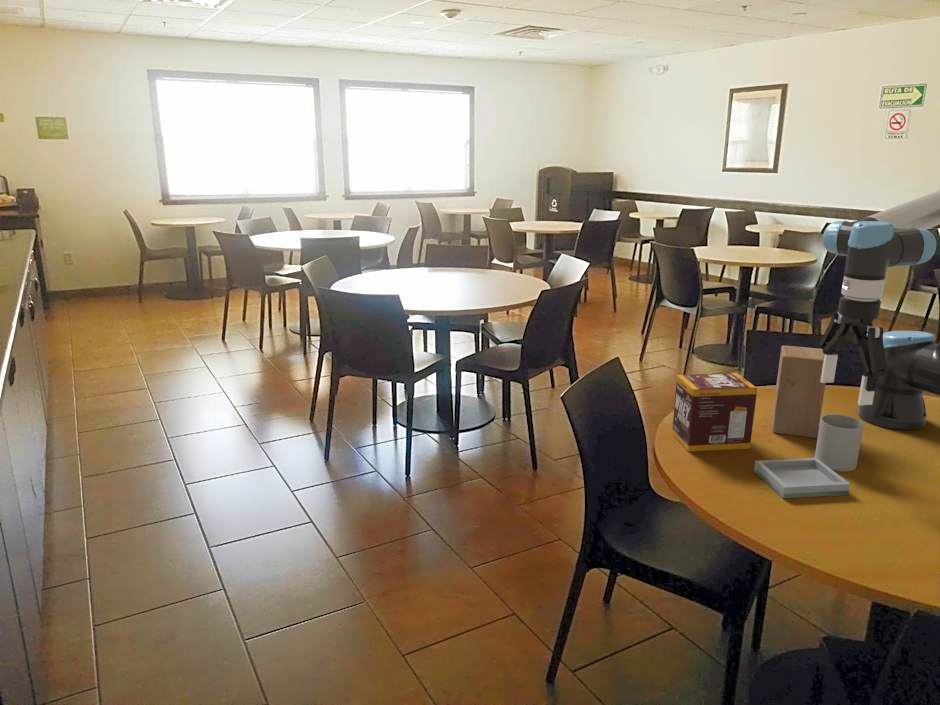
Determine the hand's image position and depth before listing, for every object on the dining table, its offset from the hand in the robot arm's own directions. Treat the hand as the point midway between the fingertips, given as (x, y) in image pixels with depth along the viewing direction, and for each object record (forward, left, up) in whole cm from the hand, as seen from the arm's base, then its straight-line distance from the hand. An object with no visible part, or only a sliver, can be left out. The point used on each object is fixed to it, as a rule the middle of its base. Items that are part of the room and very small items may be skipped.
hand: (845, 392), depth 149 cm
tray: (+13, +8, -17) cm, 22 cm away
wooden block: (-1, -19, -17) cm, 25 cm away
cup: (0, 0, -17) cm, 17 cm away
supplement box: (+23, -14, -17) cm, 31 cm away
